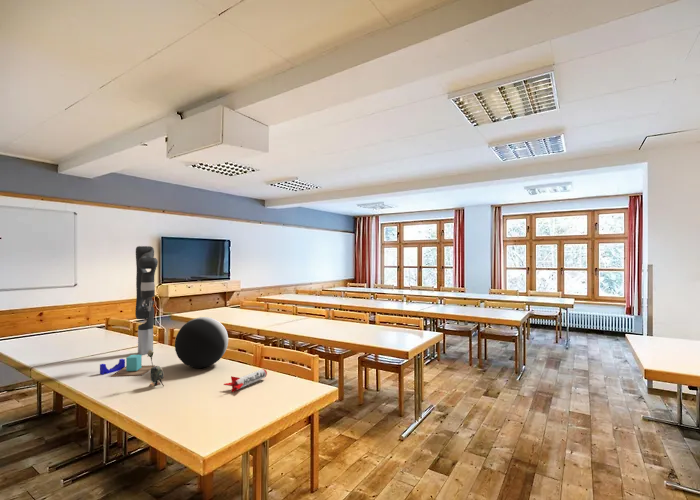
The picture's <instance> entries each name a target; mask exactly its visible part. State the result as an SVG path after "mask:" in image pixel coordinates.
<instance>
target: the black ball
mask: <svg viewBox="0 0 700 500" xmlns="http://www.w3.org/2000/svg"><path fill="white" fill-rule="evenodd" d="M228 345H229V335H228V331H227V329H226V327H225V326H224V325H223V324H222V322H220V321H219V320H217V319H215V318H212V317H209V316H200V317H196V318H192V319H190V320H189V321H187V322H186V323H184V324H183V326H181V328H180V329H179V330H178V332H177V334H176V336H175V339H174V351H175V354H176V356H177V358H178V359H179V360H180V361H181V362H182V363H183V364H184V365H186V366H188V367H191V368H196V369H201V368H202V369H203V368H207V367H210V366H212V365H214V364H216V363H217V362H219V360H221V358H223V356H224V355H225V353H226V351H227V349H228V347H229V346H228Z"/></svg>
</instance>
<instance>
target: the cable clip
mask: <svg viewBox="0 0 700 500" xmlns="http://www.w3.org/2000/svg"><path fill="white" fill-rule="evenodd" d="M124 367H126V359H124V358H120V359H119V360H118V363H117V364H115V365H114V366H113V367H111V368H109V369H108V367H107V364H105V363H101V364H99V375H107V374H111V373H116V372H118V371H119V370H121V369H123V368H124Z"/></svg>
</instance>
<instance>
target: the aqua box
mask: <svg viewBox="0 0 700 500" xmlns="http://www.w3.org/2000/svg"><path fill="white" fill-rule="evenodd" d="M142 357H143V355H138V354H130V355H129V356H127V357H126V359H125V367H126V371H137V370H139V369H140V368H142V366H143V365H142V363H143V362H142Z"/></svg>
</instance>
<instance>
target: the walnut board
mask: <svg viewBox="0 0 700 500" xmlns="http://www.w3.org/2000/svg"><path fill="white" fill-rule="evenodd" d="M154 366H156V365H154V364H153V367H154ZM151 368H152V364H151V365H150V364H149V365H142V368H140V369H139V370H137V371H126V366H125V367H124V368H123V369H121V370H119V371H116V372H113V374H111V375H110V377H113V378H114V377H138V376H139V377H142V376H143V375H145V374H146V373H148V372H149V371H151Z"/></svg>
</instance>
